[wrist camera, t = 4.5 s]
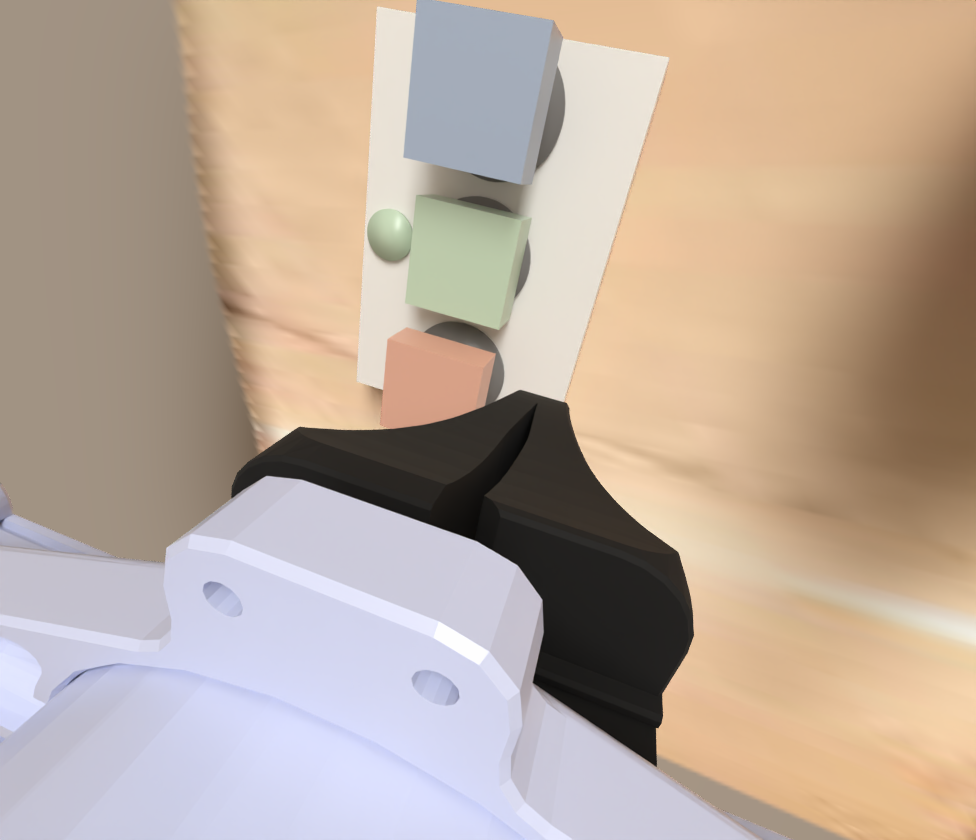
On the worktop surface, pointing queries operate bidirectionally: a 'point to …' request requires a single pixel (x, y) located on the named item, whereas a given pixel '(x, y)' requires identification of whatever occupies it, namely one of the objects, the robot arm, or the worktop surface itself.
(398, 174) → the console
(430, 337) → the terracotta button
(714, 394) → the worktop surface
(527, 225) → the sage button
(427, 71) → the slate button
